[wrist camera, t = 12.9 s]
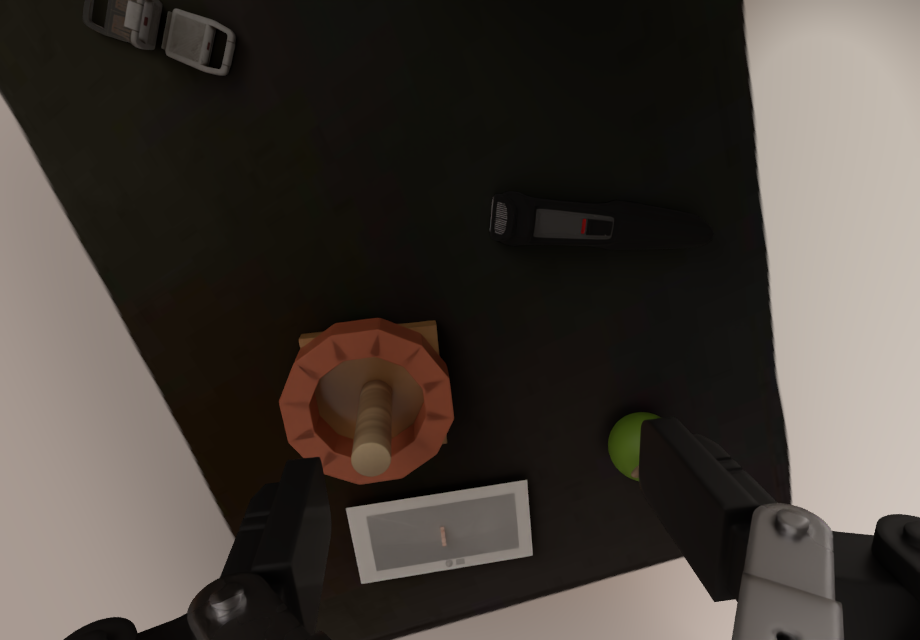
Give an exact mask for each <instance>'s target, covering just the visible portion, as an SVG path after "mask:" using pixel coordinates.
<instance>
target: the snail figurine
mask: <svg viewBox="0 0 920 640" xmlns="http://www.w3.org/2000/svg"><path fill="white" fill-rule="evenodd" d="M657 418H661V417H659V416H657V415H655V414H652V413H647V412H636V413H632V414H629V415H626V416H625V417H623V418H621V419H620V420H619V421H618V422H617V423H616V424H615V425H614V427H613V428H612V430H611V432H610V435H609V440H608V449H609V454H610V457H611V459H612V461H613V463H614V465H615V466H616V467H617V469H618V470H619V471H620V472H621V473H623V474H624V475H625V476H627V477H629V478H631V479H633V480H636V481H639V453H640V433H641V425H642V422H643V421H644V420H648V419H657ZM640 488H641V486H640Z"/></svg>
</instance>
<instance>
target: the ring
mask: <svg viewBox="0 0 920 640" xmlns="http://www.w3.org/2000/svg"><path fill="white" fill-rule="evenodd" d="M370 357H377V358H380V359H383V360H385V361H388V362H391V363H394V364H397V365H399V366H402V367H404V368H405V369H406V370H407V372H408V373H409V374H410V375H411V376H412V377H413V379H414V380H415V381H416V382H417V383H418V384H419V386H420V387H421V388H422V390H423V397H424V402H423V404H422V407H421V409H420V411H419V413H418V415H417V417H416V420H415V422H414V424H412V425H411V426H410V427H408V428H407V429H405V430H404V431H403V432H401V433H400V434H398V435H397V436H396V437H394V438H393V439H392V441H391V463H390V466H389V468H388V469H387V470H386V471H385V472H384V473H382V474H380V475H378V476H374V477H368V476H363V475H361V474H359V473H358V472H357V471H356V470H355V469H354V468H353V466H352V463H351V455H352V448H353V441H354V439H351V438H348V437H345V436H342V435H339V434H337V433H336V432H335V431H334V430H333V429H332V428H331V427H330V425H329V424H328V423H327V422H326V421H325V420H324V419H323V418H322V417H321V416H320V415H319V411H318V406H317V401H316V397H315V389H316V387H317V384H318V382H319V379H320V378H321V377H323V376H324V375H326V374H327V373H328V372H330V371H331V370H332V369H334V368H335V367H336V366H338V365H339V364H340V363H342V362H343V361H349V360H356V359H363V358H370ZM279 405H280V409H281V413H282V418H283V422H284V426H285V430H286V435H287V439H288V442H289V444H290V445H291V446H292V447H293V448H294V449H295V450H296V451H297V452H298V453H299V454H300V455H301V456H302V457H303V458H311V457H320V459H321V462H322V467H323V473H324V474H326V475H329V476H332V477H336V478H339V479H342V480H346V481H349V482H352V483H355V484H360V485H361V484H368V483H374V482H381V481H387V480H394V479H401V478H403V477H405V476H406V475H408V474H409V473H410V472H412V471H413V470H415V469H416V468H418V467H419V466H420V465H422V464H423V463H425V462H426V461H428V460H429V459H431V458H432V457H433V456H435V455H436V454H437V453H438V451H439V449H440V447H441V445H442V443H443V441H444V438H445V436H446V434H447V432H448V430H449V428H450V426H451V424H452V422H453V420H454V412H453V404H452V395H451V387H450V379H449V374H448V370H447V365H446V363H445V362H444V361H443V360H442V359H441V357H440V356H439V355H438V354H437V352H436V351H435V350H434V349H433V348H432V346H431V345H430V344H429V343H428V341H427V340H426V339H425V338H424V337H423V335H422V334H421V333H419V332H416V331H414V330H411V329H408V328H406V327H403V326H400V325H398V324H395V323H392V322H390V321H387V320H385V319H382V318H371V319H364V320H356V321H349V322H341V323H335V324H333V325H332V326H331V327H329V328H328V329H327V330H325V331H324V332H322V333H321V334H320V335H318V336H317V337H316V338H314V339H313V340H312V341H310V342H309V343H308V344H306V345H305V346H304V347H302V348H301V349H300V350H299V353H298V355H297V357H296V359H295V361H294V364H293V366H292V369H291V372H290V374H289V377H288V379H287V382H286V385H285V387H284V390H283V392H282V395H281V398H280V400H279Z"/></svg>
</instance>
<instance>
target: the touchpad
mask: <svg viewBox="0 0 920 640" xmlns="http://www.w3.org/2000/svg"><path fill="white" fill-rule="evenodd" d="M346 512H347V516H348V521H349V526H350V531H351V536H352V540H353V545H354V550H355V555H356V560H357V564H358V569H359V574H360V579H361V583H362V584H364V583H370V582H376V581H382V580H388V579H394V578H400V577H406V576H413V575H419V574H425V573H431V572H437V571H443V570H449V569H455V568H461V567H467V566H473V565H479V564H485V563H491V562H497V561H503V560H509V559H515V558H521V557H527V556H533V551H532V538H531V525H530V512H529V499H528V486H527V480H523V481H517V482H510V483H504V484H497V485H491V486H485V487H478V488H472V489H465V490H459V491H453V492H446V493H440V494H433V495H427V496H421V497H414V498H408V499H401V500H395V501H389V502H382V503H376V504H369V505H363V506H357V507H350V508H346Z"/></svg>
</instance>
